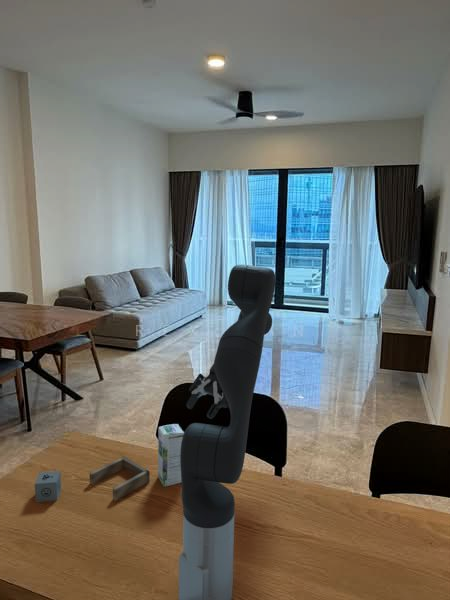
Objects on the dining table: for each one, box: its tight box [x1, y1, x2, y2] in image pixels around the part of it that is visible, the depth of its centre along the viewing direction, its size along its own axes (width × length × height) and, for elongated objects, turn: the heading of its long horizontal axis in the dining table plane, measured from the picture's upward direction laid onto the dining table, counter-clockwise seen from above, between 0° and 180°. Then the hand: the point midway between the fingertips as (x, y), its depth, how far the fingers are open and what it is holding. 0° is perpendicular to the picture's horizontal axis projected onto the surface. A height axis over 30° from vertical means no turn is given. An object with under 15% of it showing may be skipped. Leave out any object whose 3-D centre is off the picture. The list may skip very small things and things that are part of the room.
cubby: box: [89, 456, 151, 502], centre depth 114 cm, size 11×11×3 cm
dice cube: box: [34, 470, 62, 503], centre depth 108 cm, size 5×5×5 cm
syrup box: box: [157, 423, 185, 488], centre depth 115 cm, size 6×6×14 cm
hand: (198, 412), depth 120 cm, fingers open, 8 cm apart
